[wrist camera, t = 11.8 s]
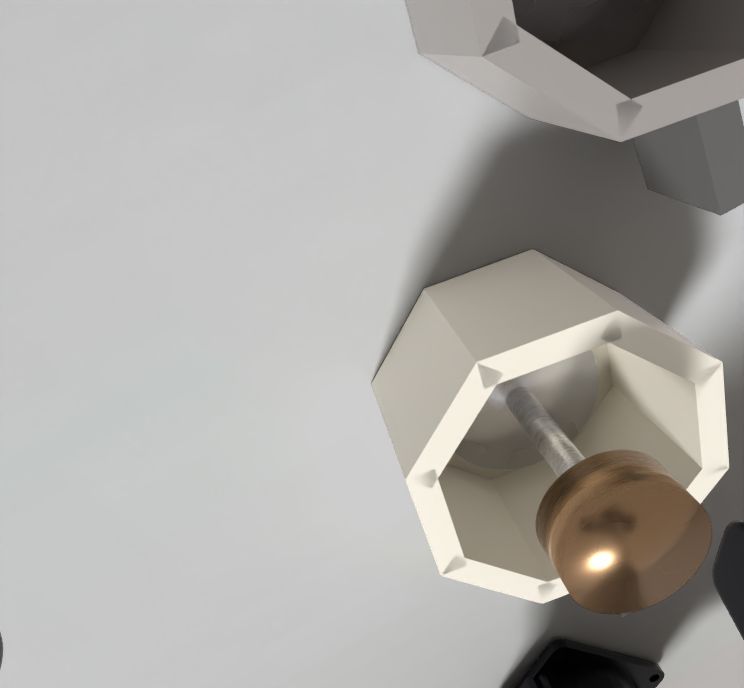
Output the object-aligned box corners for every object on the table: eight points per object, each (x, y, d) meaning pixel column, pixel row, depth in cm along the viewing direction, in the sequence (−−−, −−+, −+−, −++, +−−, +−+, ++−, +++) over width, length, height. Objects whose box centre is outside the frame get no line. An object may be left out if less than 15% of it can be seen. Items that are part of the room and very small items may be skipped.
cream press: (711, 339, 23) (829, 414, 18) (573, 528, 26) (645, 636, 21) (464, 214, 19) (533, 268, 15) (335, 449, 22) (358, 557, 17)
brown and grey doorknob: (623, 351, 22) (799, 495, 15) (535, 479, 23) (655, 663, 16) (487, 287, 20) (616, 418, 13) (402, 432, 21) (476, 616, 15)
